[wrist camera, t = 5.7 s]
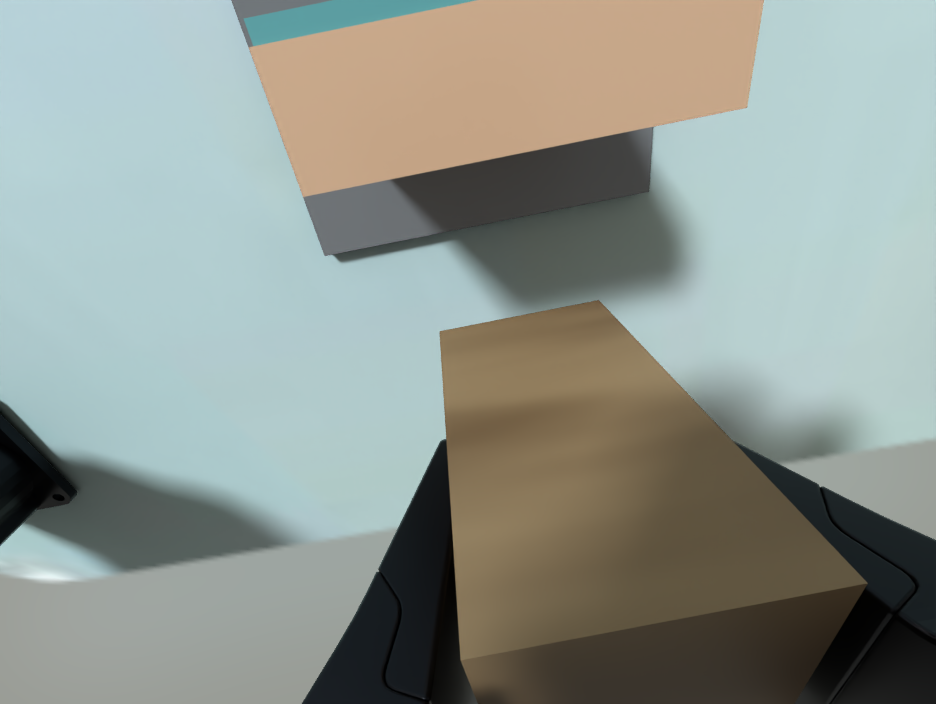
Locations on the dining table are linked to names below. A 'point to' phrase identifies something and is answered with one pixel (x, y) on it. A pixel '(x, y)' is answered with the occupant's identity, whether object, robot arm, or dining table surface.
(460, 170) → the rubber mat
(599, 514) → the walnut block
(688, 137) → the dining table surface
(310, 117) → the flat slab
